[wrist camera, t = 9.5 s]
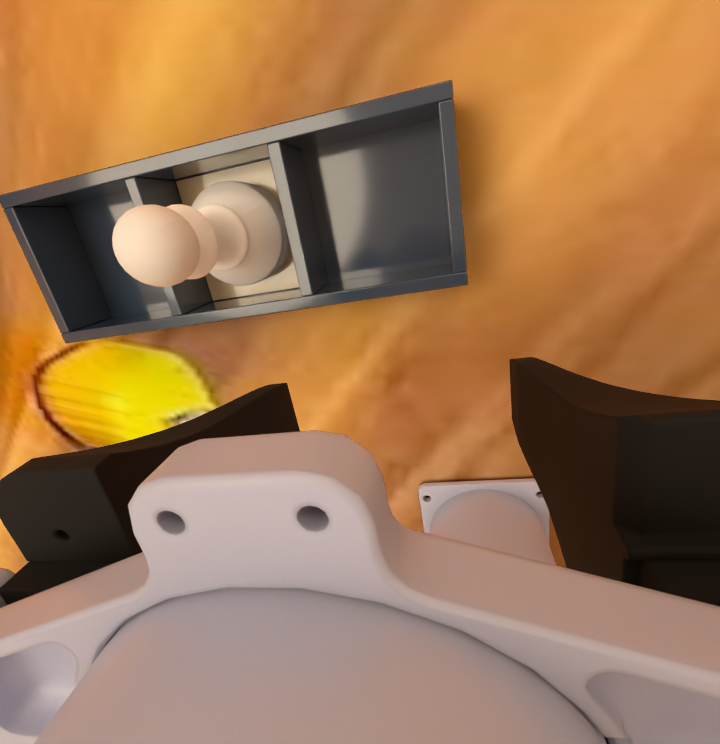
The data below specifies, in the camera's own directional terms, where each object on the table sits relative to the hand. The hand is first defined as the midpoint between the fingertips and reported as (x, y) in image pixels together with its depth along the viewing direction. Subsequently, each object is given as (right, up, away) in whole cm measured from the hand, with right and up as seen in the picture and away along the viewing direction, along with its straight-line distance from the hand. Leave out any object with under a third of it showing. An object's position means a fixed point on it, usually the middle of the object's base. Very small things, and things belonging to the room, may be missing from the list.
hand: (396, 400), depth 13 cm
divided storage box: (-7, +9, +9) cm, 14 cm away
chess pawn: (-7, +8, +9) cm, 14 cm away
